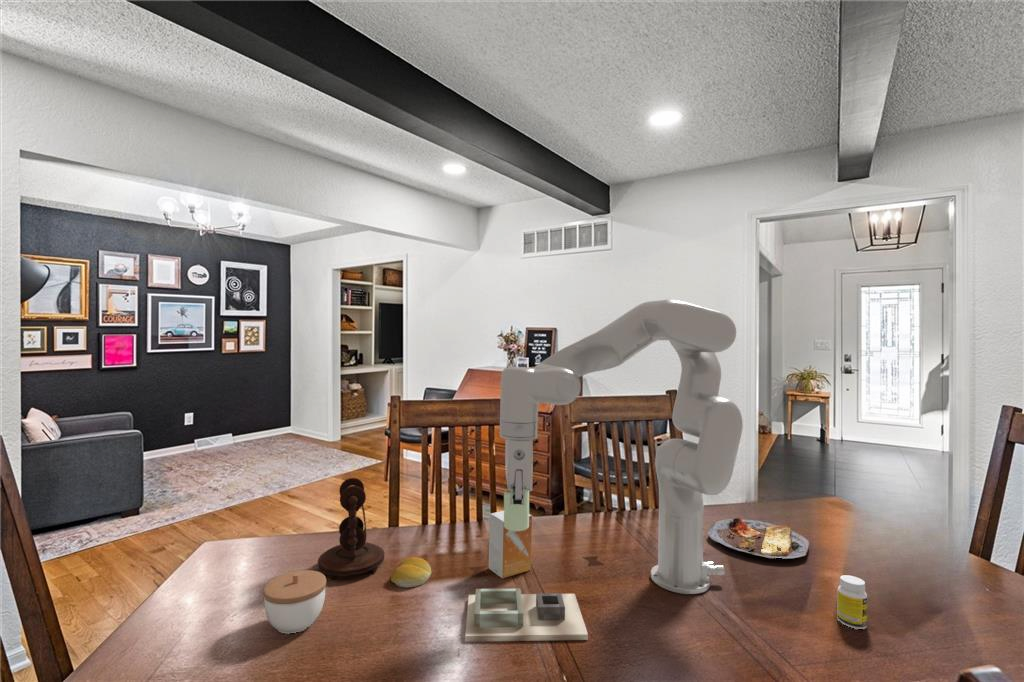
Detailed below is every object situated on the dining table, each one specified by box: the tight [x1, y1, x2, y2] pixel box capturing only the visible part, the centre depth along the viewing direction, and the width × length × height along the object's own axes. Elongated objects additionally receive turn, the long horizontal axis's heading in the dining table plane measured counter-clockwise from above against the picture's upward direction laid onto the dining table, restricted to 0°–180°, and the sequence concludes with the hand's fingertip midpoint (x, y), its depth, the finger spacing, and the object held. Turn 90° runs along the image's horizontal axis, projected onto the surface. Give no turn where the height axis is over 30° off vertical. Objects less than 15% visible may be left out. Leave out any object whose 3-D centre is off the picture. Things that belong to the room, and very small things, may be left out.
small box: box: [488, 509, 533, 579], centre depth 115 cm, size 8×6×13 cm
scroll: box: [317, 477, 385, 580], centre depth 115 cm, size 15×15×20 cm
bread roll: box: [390, 556, 432, 589], centre depth 110 cm, size 8×9×4 cm
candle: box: [503, 487, 530, 531], centre depth 97 cm, size 5×5×8 cm
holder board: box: [464, 588, 589, 643], centre depth 95 cm, size 22×14×4 cm, turn 92°
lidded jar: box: [263, 569, 327, 635], centre depth 92 cm, size 11×11×9 cm
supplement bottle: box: [836, 574, 868, 630], centre depth 95 cm, size 5×5×8 cm
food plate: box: [707, 517, 810, 560], centre depth 132 cm, size 25×23×4 cm
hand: (516, 521), depth 98 cm, fingers closed on candle
